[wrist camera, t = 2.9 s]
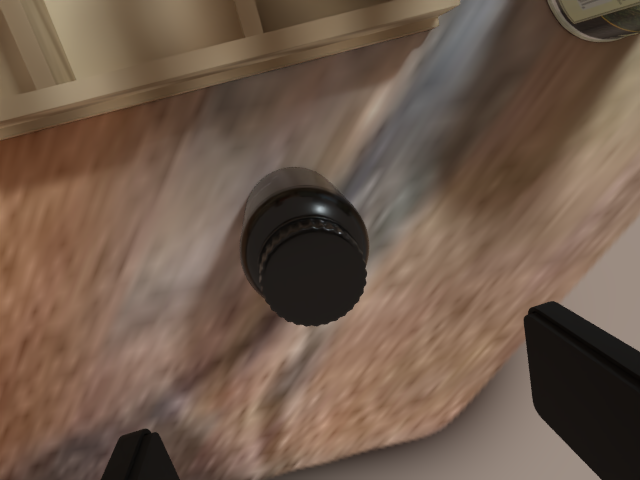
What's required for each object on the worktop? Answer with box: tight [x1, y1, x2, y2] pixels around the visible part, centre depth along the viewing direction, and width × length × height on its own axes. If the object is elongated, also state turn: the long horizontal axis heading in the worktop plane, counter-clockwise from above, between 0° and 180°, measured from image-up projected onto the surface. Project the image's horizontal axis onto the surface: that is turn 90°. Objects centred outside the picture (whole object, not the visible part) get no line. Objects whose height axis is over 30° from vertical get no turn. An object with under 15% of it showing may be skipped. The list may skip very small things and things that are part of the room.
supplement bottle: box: [240, 167, 369, 326], centre depth 24 cm, size 7×7×12 cm
